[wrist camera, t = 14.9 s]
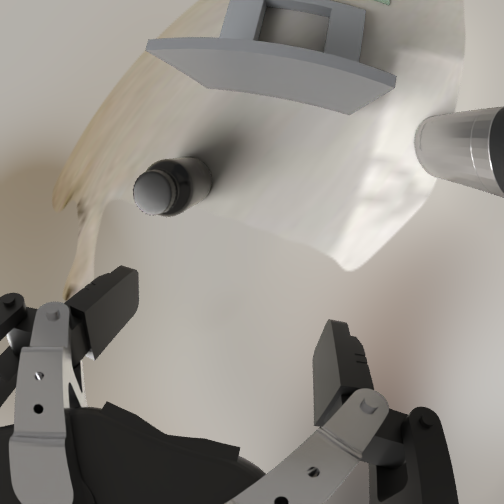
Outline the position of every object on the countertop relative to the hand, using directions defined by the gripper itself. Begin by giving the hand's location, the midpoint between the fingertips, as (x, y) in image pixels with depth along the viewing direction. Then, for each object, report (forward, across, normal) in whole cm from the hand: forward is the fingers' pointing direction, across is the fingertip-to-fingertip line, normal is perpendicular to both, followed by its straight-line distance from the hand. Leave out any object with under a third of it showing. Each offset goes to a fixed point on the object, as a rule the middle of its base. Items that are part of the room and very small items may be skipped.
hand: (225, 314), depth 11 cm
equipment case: (+28, +2, -22) cm, 36 cm away
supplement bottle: (+28, +12, 0) cm, 31 cm away
